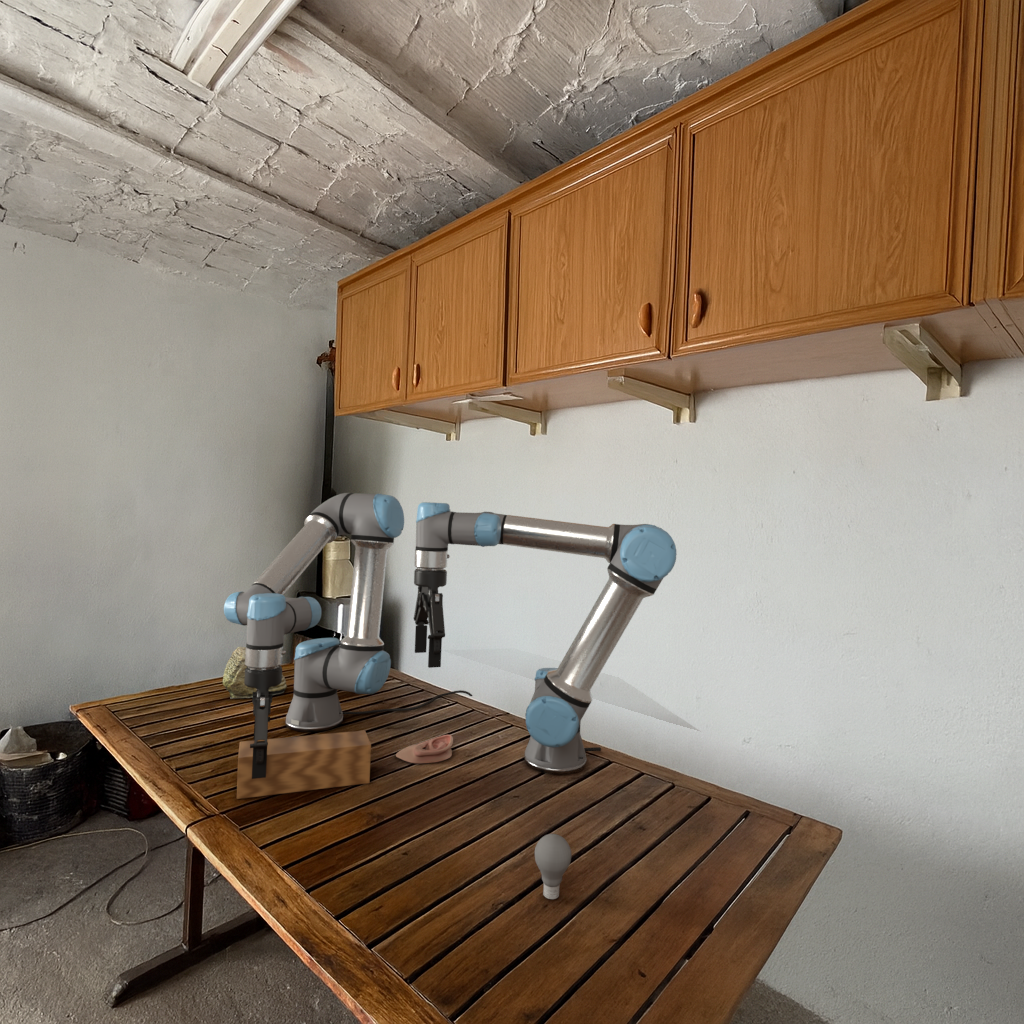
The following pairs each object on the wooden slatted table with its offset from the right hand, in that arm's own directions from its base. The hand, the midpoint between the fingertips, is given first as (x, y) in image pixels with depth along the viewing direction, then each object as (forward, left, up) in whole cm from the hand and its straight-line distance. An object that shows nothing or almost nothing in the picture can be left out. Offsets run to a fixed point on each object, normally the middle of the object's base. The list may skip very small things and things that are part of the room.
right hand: (427, 659), depth 148 cm
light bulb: (-14, +51, -26) cm, 59 cm away
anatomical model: (-2, -9, -26) cm, 28 cm away
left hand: (+36, +2, -21) cm, 42 cm away
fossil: (+44, -64, -26) cm, 82 cm away
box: (+26, +1, -26) cm, 37 cm away
